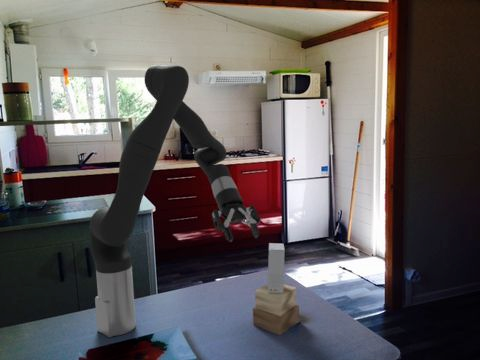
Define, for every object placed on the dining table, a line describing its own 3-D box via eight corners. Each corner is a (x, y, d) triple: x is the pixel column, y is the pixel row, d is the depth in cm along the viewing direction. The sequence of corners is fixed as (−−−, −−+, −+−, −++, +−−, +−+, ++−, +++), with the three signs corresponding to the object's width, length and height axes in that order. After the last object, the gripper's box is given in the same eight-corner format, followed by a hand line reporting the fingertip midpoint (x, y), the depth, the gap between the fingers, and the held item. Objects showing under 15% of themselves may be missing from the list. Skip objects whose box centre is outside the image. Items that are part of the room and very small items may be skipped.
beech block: (280, 316, 107) (280, 298, 107) (255, 308, 112) (255, 290, 111) (296, 305, 113) (296, 287, 113) (272, 297, 118) (271, 281, 118)
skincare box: (283, 293, 109) (284, 250, 107) (267, 293, 109) (268, 249, 108) (283, 284, 115) (284, 243, 113) (267, 284, 115) (268, 242, 113)
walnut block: (280, 335, 107) (279, 317, 106) (253, 325, 113) (252, 308, 112) (299, 322, 114) (299, 305, 113) (273, 313, 120) (272, 296, 119)
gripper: (208, 188, 123) (226, 235, 114) (250, 185, 129) (270, 228, 121) (202, 203, 128) (218, 248, 120) (242, 199, 135) (260, 241, 126)
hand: (244, 238), depth 120 cm, fingers open, 8 cm apart
